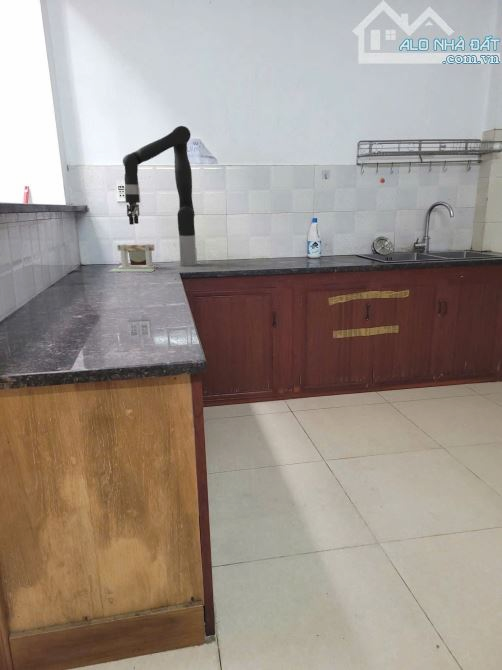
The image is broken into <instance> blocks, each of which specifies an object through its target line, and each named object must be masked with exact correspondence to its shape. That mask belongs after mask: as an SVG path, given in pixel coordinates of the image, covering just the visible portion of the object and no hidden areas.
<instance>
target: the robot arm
mask: <svg viewBox="0 0 502 670" xmlns="http://www.w3.org/2000/svg"><path fill="white" fill-rule="evenodd" d="M190 139H191V131H190V129H189V128H188V127H187V126H184V125H179V126H176V127H175V128H174V129H173V130H172V131H171V132H170V133H169V134H167V135H165V136H163V137H162V138H159V139H157V140H155V141H152V142H150V143H148V144H145V145H144V146H142V147H140V148H139V149H137V150H136V151H135V150H134V151H132V152H131V153H129V154H127V155H125V156H123V159H122V163H123V166H124V196H125V203H128V204H126V215H127V217H128V220H129V225H134V224H136V225H138V224H139V216H140V205H139V204H138V203H140V188H139V178H138V172H139V169H138V168H139V167H138V166H139V165H140V164H142V163H144V162H146V161H149V160H152V159H153V158H156V157H157V156H159V155H160V154H162V153H165V151H168V150H169V149H171V148H173V152H174V154H173V155H174V175H175V176H174V177H175V185H176V190H177V194H178V201H179V202H178V204H179V205H178V206H179V208H178V210H177V228H178V238H179V239H178V240H179V257H180V259H179V262H180V266H184V267H192V266H197V265H198V261H197V260H198V258H197V255H198V254H197V246H196V229H195V210H194V209H195V208H194V204H193V203H194V202H193V175H192V168H191V164H190V160H189V157H188V142H189V141H190Z"/></svg>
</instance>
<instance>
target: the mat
mask: <svg viewBox="0 0 502 670" xmlns="http://www.w3.org/2000/svg"><path fill="white" fill-rule="evenodd" d="M154 270H155V271H156V268H154V269H118V268H113V269H109V270H108V271H107V273H152V272H154Z"/></svg>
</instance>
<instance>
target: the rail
mask: <svg viewBox="0 0 502 670" xmlns="http://www.w3.org/2000/svg"><path fill="white" fill-rule="evenodd" d="M120 245H121V244H118V245H117V251H119V252H121V250H120ZM123 245H124V249H125V251H127V252H128V251H145V245H146V244H123ZM149 251H152V252H153V251H155V244H151V245H149Z"/></svg>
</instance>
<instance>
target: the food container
mask: <svg viewBox="0 0 502 670" xmlns="http://www.w3.org/2000/svg"><path fill="white" fill-rule="evenodd" d="M127 253H128V258H129V262H130V265H146V254H145V251H127Z"/></svg>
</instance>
